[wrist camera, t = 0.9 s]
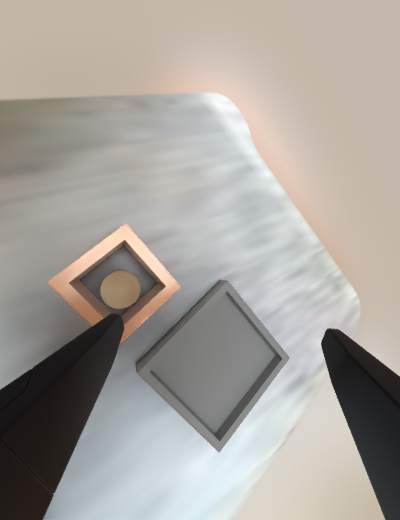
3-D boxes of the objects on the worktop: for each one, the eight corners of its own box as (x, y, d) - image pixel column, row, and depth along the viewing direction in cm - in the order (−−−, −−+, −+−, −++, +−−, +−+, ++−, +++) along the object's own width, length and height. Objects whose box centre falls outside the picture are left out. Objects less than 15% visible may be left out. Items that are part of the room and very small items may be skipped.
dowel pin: (119, 298, 22) (118, 316, 13) (102, 281, 21) (91, 288, 13) (137, 282, 23) (148, 290, 14) (122, 265, 22) (123, 263, 14)
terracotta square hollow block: (116, 333, 22) (115, 348, 17) (62, 279, 20) (46, 282, 16) (170, 283, 24) (181, 286, 20) (125, 231, 22) (126, 223, 18)
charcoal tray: (211, 438, 25) (219, 452, 23) (135, 364, 22) (137, 373, 20) (278, 352, 29) (289, 357, 27) (220, 280, 26) (227, 280, 24)
